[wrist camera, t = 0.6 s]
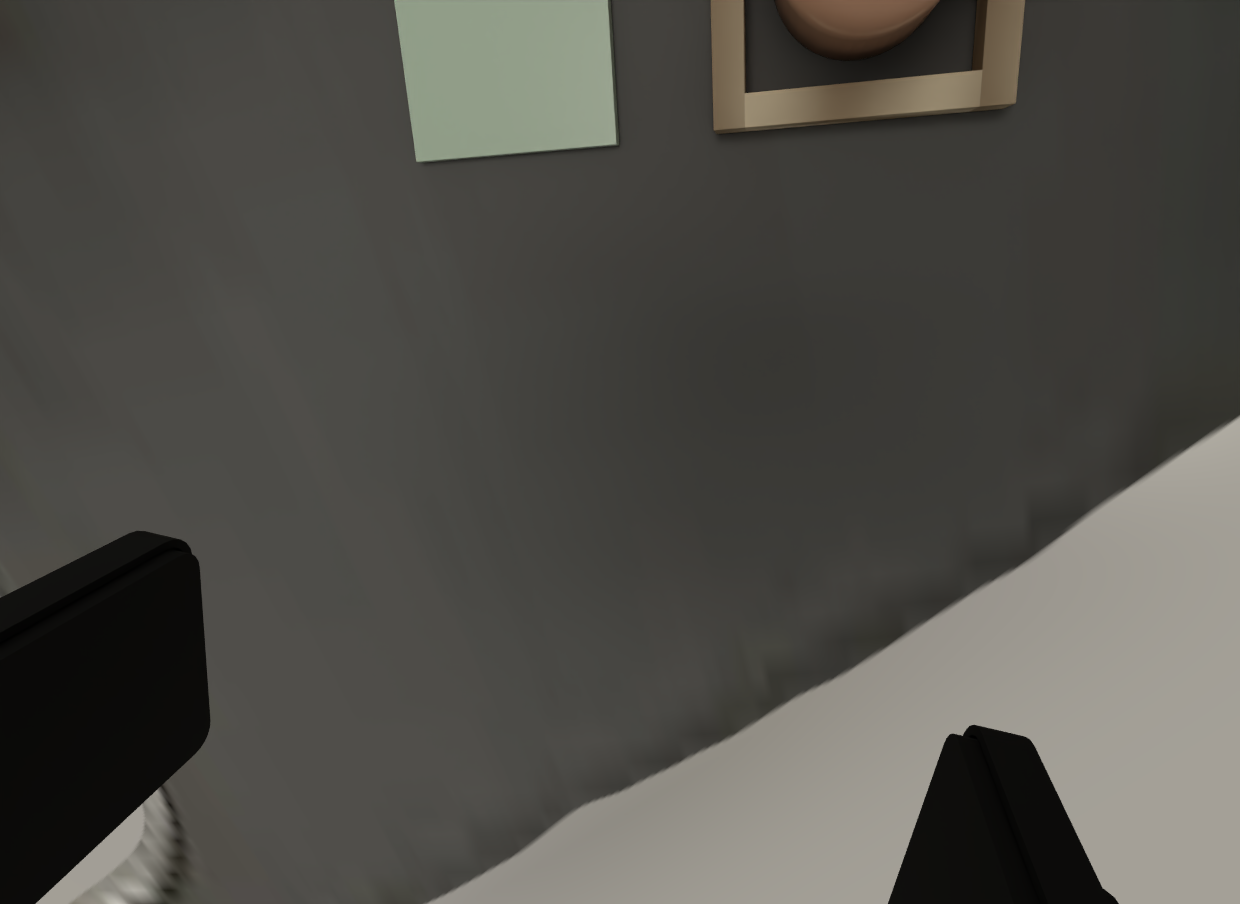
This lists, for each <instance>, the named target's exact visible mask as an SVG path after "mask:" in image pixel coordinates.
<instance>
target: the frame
mask: <svg viewBox="0 0 1240 904" xmlns="http://www.w3.org/2000/svg"><path fill="white" fill-rule="evenodd" d="M1024 6H1025V0H977V8H976V22H975V36H974V49H973V63H972V71H966V72H956V73H946V74H935V75H925V76H915V77H905V78H895V79H885V80H875V81H865V82H855V83H845V84H835V85H825V86H814V87H804V88H794V89H784V90H774V91H764V92H754V93H746V33H745V0H711V32H712V76H713V119H714V131H715V132H716V134H724V133H736V132H747V131H758V130H770V129H781V128H792V127H803V126H815V125H826V124H837V123H849V122H860V121H871V120H883V119H894V118H905V117H917V116H928V115H939V114H950V113H962V112H973V111H984V110H996V109H1004V108H1006V107H1008V106H1011V105H1013V104H1015V103H1016V94H1017V83H1018V72H1019V61H1020V50H1021V39H1022V28H1023V17H1024Z"/></svg>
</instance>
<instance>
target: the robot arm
mask: <svg viewBox="0 0 1240 904" xmlns="http://www.w3.org/2000/svg"><path fill="white" fill-rule="evenodd" d="M209 728H210V709H209V695H208V681H207V666H206V652H205V638H204V623H203V609H202V595H201V580H200V567H199V562H198V560H197V558H196V557H195V556H194V555H192V553H191V549H190V547H189V546H188V544H187V543H186V542H184V541H182V540H180V539H176V538H171V537H167V536H163V535H159V534H154V533H150V532H146V531H135V532H132V533H129V534H127V535H125V536H123V537H121V538H119V539H117V540H115V541H113V542H111V543H109V544H107V545H105V546H103V547H101V548H99V549H97V550H95V551H93V552H91V553H89V554H87V555H85V556H83V557H81V558H79V559H77V560H75V561H73V562H71V563H69V564H67V565H65V566H63V567H61V568H59V569H57V570H55V571H53V572H51V573H49V574H47V575H45V576H43V577H41V578H39V579H37V580H35V581H33V582H31V583H29V584H27V585H25V586H23V587H21V588H19V589H17V590H15V591H13V592H11V593H9V594H7V595H5V596H3V597H1V598H0V904H36V902H38V901H39V900H40V899H41V898H42V897H43V896H44V895H45V894H46V893H47V892H48V891H49V890H51V889H52V888H53V887H54V886H55V885H56V884H57V883H58V882H59V881H60V880H61V879H62V878H63V877H64V876H65V875H67V874H68V873H69V872H70V871H71V870H72V869H73V868H74V867H75V866H76V865H77V864H78V863H79V862H80V861H81V860H83V859H84V858H85V857H86V856H87V855H88V854H89V853H90V852H91V851H92V850H93V849H94V848H95V847H96V846H97V845H98V844H100V843H101V842H102V841H103V840H104V839H105V838H106V837H107V836H108V835H109V834H110V833H111V832H112V831H113V830H114V829H116V827H118V826H119V825H120V824H121V823H122V822H123V821H124V820H125V819H126V818H127V817H128V816H129V815H130V814H131V813H133V812H134V811H135V810H136V809H137V808H138V807H139V806H140V805H141V804H142V803H143V802H144V801H145V800H146V799H148V798H149V797H150V796H151V795H152V794H153V793H154V792H155V791H156V790H157V789H158V788H159V787H160V786H161V785H162V784H164V783H165V782H166V781H167V780H168V779H169V778H170V777H171V776H172V775H173V774H174V773H175V772H176V771H177V770H178V769H180V768H181V767H182V766H183V765H184V764H185V763H186V762H187V761H188V760H189V759H190V758H191V757H192V756H193V755H194V754H195V753H196V752H197V751H198V750H199V749H200V748H201V746H202V745H203V743H204V742H205V739H206V737H207V735H208V732H209ZM888 904H1118V902H1117V901H1116V899H1115V898H1114V897H1113V896H1112V895H1111V894H1109V893H1108V892H1107V891H1106V890H1104V889H1103V888H1102V886H1101V884H1100V882H1099V880H1098V878H1097V876H1096V874H1095V872H1094V870H1093V867H1092V865H1091V863H1090V861H1089V859H1088V857H1087V855H1086V853H1085V851H1084V849H1083V846H1082V844H1081V842H1080V840H1079V838H1078V836H1077V834H1076V832H1075V830H1074V828H1073V826H1072V823H1071V821H1070V819H1069V817H1068V815H1067V813H1066V811H1065V809H1064V807H1063V805H1062V803H1061V800H1060V798H1059V796H1058V794H1057V792H1056V790H1055V788H1054V786H1053V784H1052V782H1051V780H1050V777H1049V775H1048V773H1047V771H1046V769H1045V767H1044V765H1043V763H1042V761H1041V759H1040V757H1039V755H1038V752H1037V750H1036V748H1035V746H1034V745H1033V743H1032V742H1031V740H1030V739H1028V738H1026V737H1024V736H1020V735H1016V734H1011V733H1007V732H1003V731H999V730H994V729H990V728H986V727H981V726H977V725H971V726H969V727H968V728H967V729H966V731H965V732H964V735H963V736H961V735H957V734H950V735H949V736H948V737H947V738H946V741H945V743H944V745H943V749H942V751H941V754H940V757H939V760H938V762H937V766H936V768H935V771H934V774H933V777H932V780H931V782H930V785H929V788H928V791H927V794H926V797H925V799H924V802H923V805H922V808H921V811H920V814H919V817H918V819H917V822H916V825H915V828H914V831H913V834H912V837H911V839H910V842H909V845H908V848H907V851H906V854H905V857H904V859H903V862H902V865H901V868H900V871H899V874H898V876H897V879H896V882H895V885H894V888H893V891H892V894H891V896H890V899H889V902H888Z"/></svg>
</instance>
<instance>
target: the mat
mask: <svg viewBox="0 0 1240 904" xmlns="http://www.w3.org/2000/svg"><path fill="white" fill-rule="evenodd" d="M394 1H395V8H396V16H397V23H398V30H399V37H400V45H401V52H402V59H403V67H404V74H405V81H406V89H407V96H408V103H409V110H410V118H411V125H412V132H413V140H414V147H415V154H416V161H417V162H422V163H424V162H435V161H447V160H458V159H470V158H481V157H492V156H504V155H515V154H527V153H538V152H549V151H561V150H572V149H584V148H595V147H606V146H618V145H619V132H618V115H617V98H616V82H615V65H614V48H613V31H612V14H611V0H394Z"/></svg>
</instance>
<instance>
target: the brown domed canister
mask: <svg viewBox="0 0 1240 904" xmlns="http://www.w3.org/2000/svg"><path fill="white" fill-rule="evenodd" d="M774 1H775V4H776V7H777V10H778V13H779V15H780V17H781V19H782V22H783V23H784V25H785V26H786V28H787V29H788V31H789V32H790V33H791V35H792V36H793V37H794V38H795V39H796V40H797V41H798V42H799V43H800V44H802V45H803V46H804V47H805V48H807V49H809V50H810V51H812V52H813V53H816V54H818V55H820V56H823V57H826V58H830V59H834V60H843V61H850V60H861V59H866V58H870V57H873V56H876V55H879V54H881V53H884V52H886V51H888V50H890V49H892V48H893V47H895V46H897V45H898V44H900V43H901V42H903V41H904V40H905V39H906V38H908V37H909V36H910V35H911V34H912V33H913V32H914V31H915V30H916V29H917V28H918V27H919V26H920V25H921V24H922V23H923V21H924V20H925V19H926V18H927V16H928V15H929V14H930V13H931V11H932V10H933V9H934V8H935V6H936V5H937V4H938V2H939V1H940V0H774Z"/></svg>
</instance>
